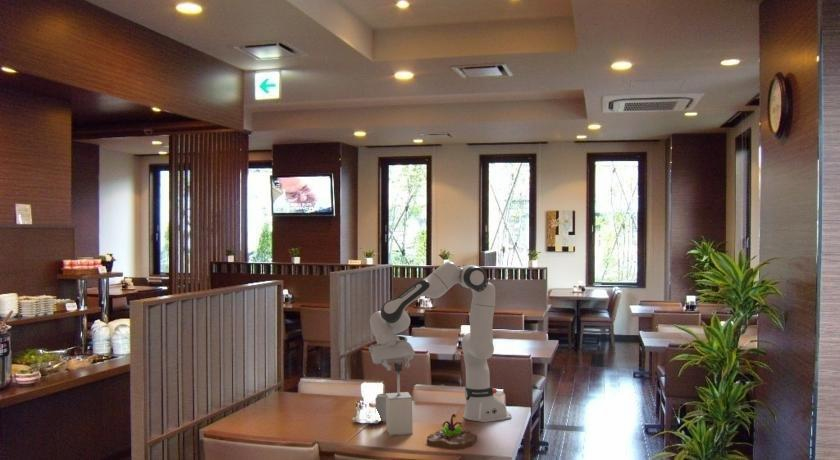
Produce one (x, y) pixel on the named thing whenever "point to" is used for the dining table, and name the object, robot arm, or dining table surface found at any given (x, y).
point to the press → (399, 414)
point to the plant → (452, 436)
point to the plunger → (398, 375)
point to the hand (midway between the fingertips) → (399, 368)
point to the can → (381, 406)
